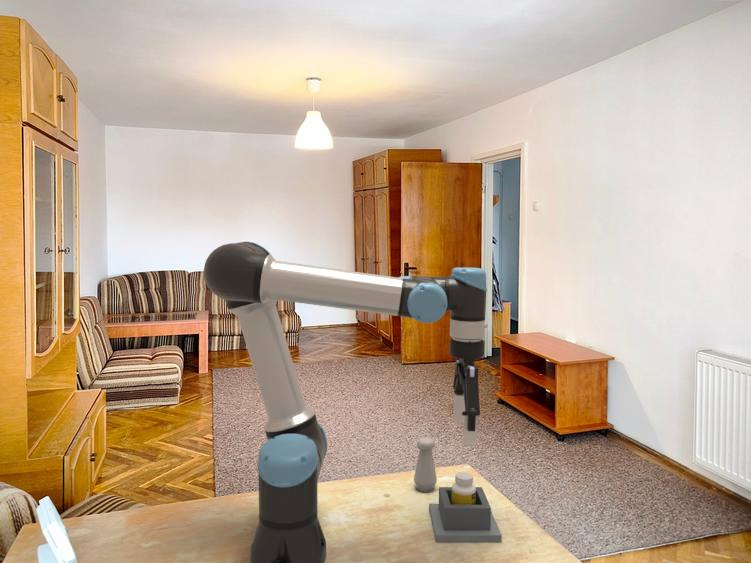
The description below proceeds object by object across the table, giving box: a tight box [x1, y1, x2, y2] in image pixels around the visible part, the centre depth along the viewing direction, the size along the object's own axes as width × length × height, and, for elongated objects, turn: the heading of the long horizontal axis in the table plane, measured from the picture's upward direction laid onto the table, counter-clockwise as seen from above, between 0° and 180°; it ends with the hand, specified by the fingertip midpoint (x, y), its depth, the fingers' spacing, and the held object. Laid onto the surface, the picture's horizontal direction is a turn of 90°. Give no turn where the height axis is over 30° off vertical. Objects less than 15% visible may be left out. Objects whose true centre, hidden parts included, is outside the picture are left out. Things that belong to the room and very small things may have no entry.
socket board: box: [428, 486, 503, 543], centre depth 127 cm, size 14×14×6 cm
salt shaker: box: [413, 437, 438, 493], centre depth 144 cm, size 6×6×13 cm
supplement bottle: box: [451, 471, 477, 505], centre depth 127 cm, size 5×5×10 cm
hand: (464, 433), depth 125 cm, fingers open, 13 cm apart
